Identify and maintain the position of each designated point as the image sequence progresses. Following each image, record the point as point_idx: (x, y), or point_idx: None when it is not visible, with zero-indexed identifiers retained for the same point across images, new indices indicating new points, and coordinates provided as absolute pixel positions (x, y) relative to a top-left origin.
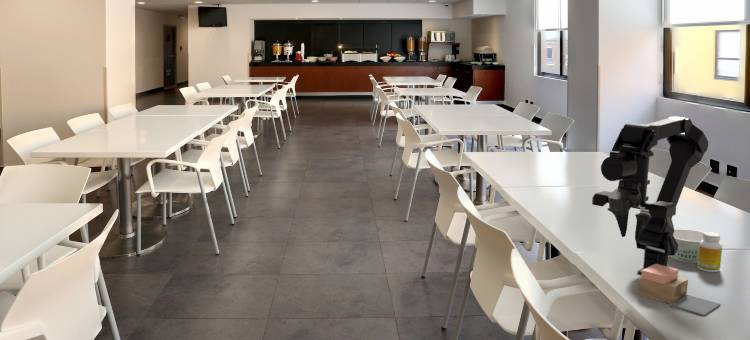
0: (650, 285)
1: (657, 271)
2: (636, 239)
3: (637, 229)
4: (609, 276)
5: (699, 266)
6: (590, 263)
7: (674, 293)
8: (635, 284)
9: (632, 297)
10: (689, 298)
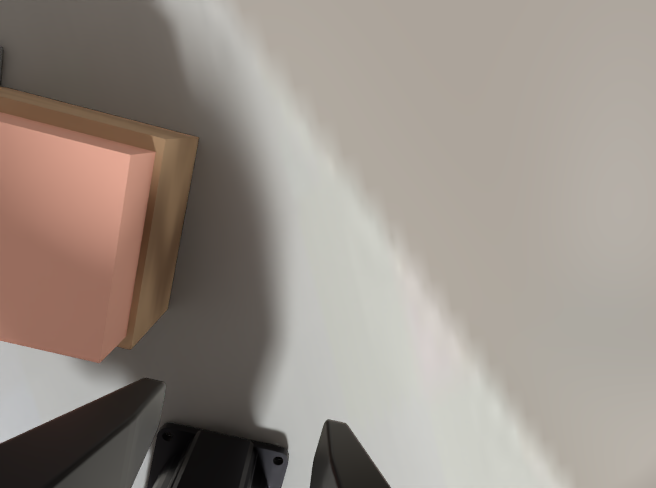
0: (96, 117)
1: (27, 192)
2: (143, 379)
3: (34, 453)
4: (400, 329)
5: None
6: (531, 465)
7: None
8: (252, 284)
9: (211, 69)
10: None
